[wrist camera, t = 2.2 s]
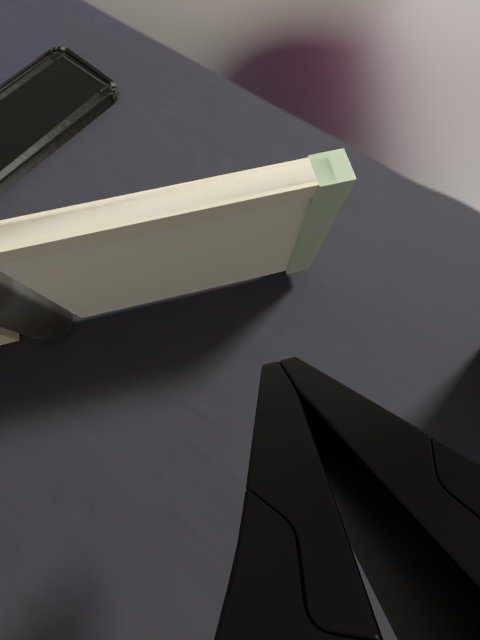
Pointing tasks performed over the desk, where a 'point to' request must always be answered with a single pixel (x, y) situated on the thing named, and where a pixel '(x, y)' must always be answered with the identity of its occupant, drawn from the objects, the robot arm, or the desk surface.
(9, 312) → the garden fence
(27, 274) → the bar
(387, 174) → the desk surface
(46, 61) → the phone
